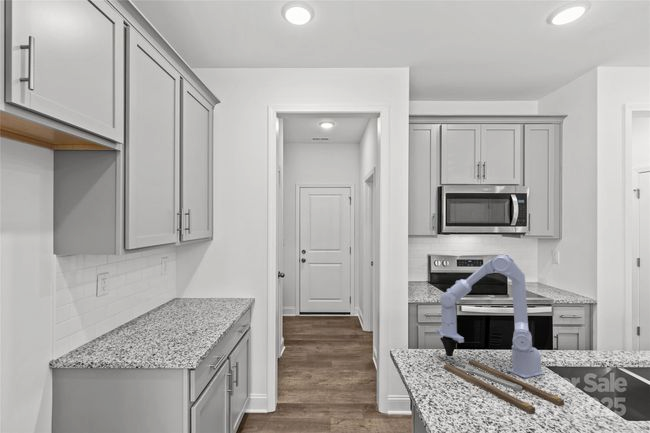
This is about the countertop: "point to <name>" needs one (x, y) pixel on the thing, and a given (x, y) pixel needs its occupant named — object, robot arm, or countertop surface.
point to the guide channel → (501, 394)
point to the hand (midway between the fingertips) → (449, 355)
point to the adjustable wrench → (488, 377)
